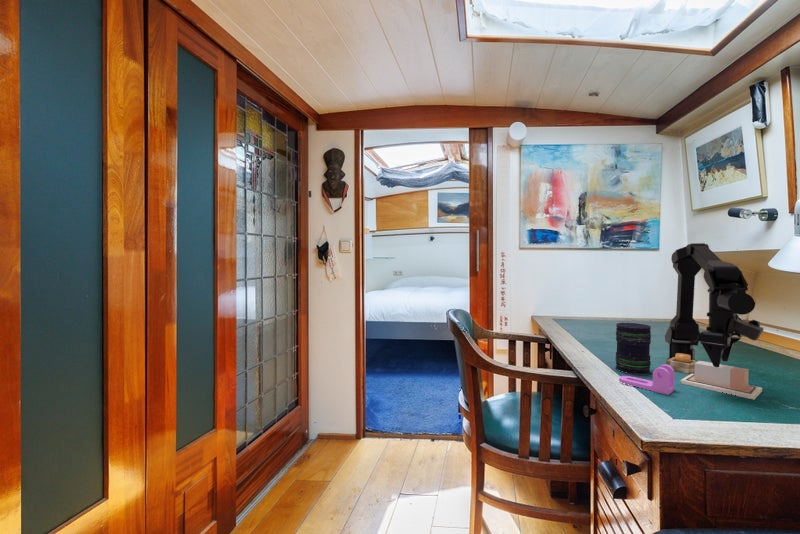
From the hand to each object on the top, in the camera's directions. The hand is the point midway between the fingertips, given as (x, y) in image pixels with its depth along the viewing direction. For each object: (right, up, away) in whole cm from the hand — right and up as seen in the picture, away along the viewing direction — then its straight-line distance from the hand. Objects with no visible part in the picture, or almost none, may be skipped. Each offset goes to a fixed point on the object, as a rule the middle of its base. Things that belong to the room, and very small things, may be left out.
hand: (720, 364), depth 107 cm
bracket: (-21, -7, +1) cm, 22 cm away
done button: (+2, -4, +17) cm, 17 cm away
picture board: (0, -7, 0) cm, 7 cm away
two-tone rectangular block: (0, -6, 0) cm, 6 cm away
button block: (+2, -6, +17) cm, 18 cm away
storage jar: (-15, -7, +17) cm, 23 cm away
